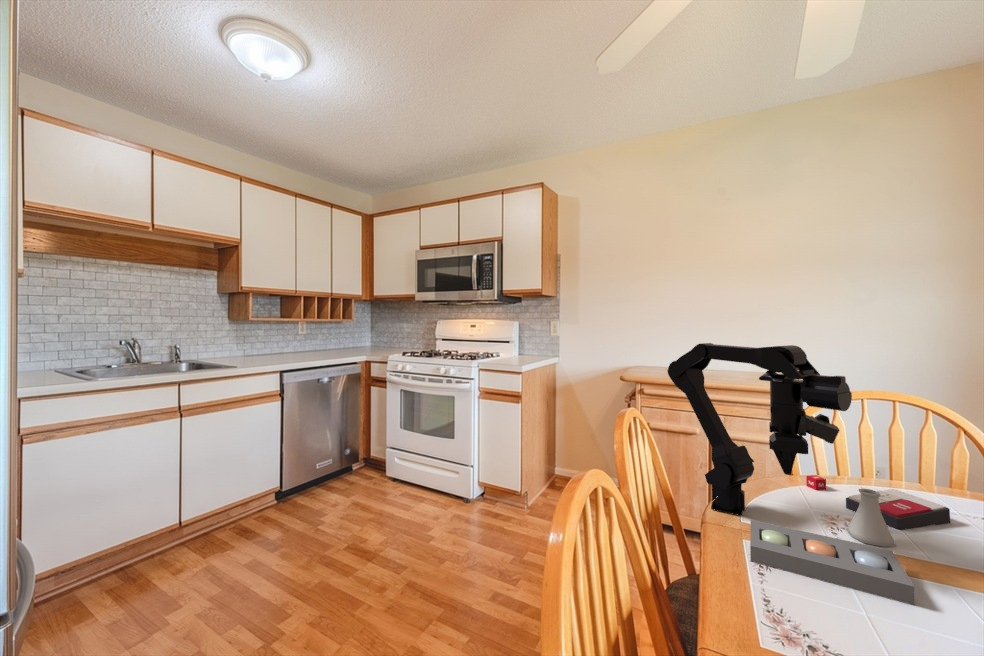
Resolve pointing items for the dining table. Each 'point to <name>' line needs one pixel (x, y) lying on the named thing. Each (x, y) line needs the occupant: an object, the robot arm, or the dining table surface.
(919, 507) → the black product box
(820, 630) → the dining table surface
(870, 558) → the button blue
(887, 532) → the flask
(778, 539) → the button sage
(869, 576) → the button panel
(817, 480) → the red letter cube
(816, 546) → the button terracotta
